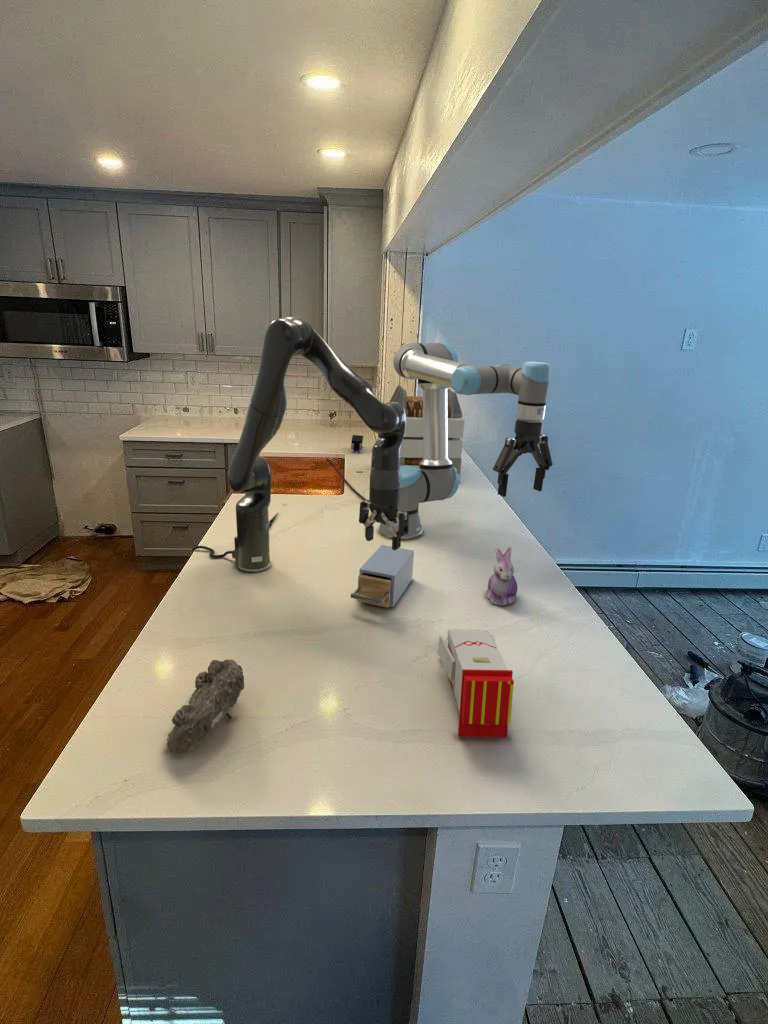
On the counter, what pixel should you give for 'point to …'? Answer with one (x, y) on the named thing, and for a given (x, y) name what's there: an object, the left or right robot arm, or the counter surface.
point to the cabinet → (391, 568)
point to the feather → (272, 520)
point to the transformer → (414, 429)
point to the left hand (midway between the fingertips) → (382, 544)
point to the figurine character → (356, 443)
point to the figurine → (502, 580)
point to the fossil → (206, 705)
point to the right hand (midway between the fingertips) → (519, 492)
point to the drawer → (373, 590)
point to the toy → (478, 682)
